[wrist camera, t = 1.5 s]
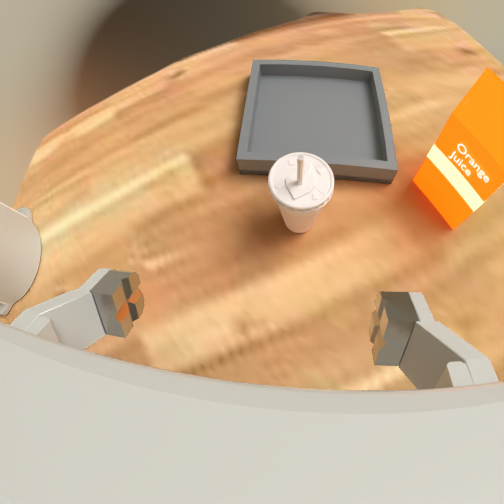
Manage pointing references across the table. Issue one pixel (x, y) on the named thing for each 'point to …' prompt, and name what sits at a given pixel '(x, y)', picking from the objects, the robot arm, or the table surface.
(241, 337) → the table surface
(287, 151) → the tray
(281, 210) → the smoothie
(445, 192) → the orange juice
